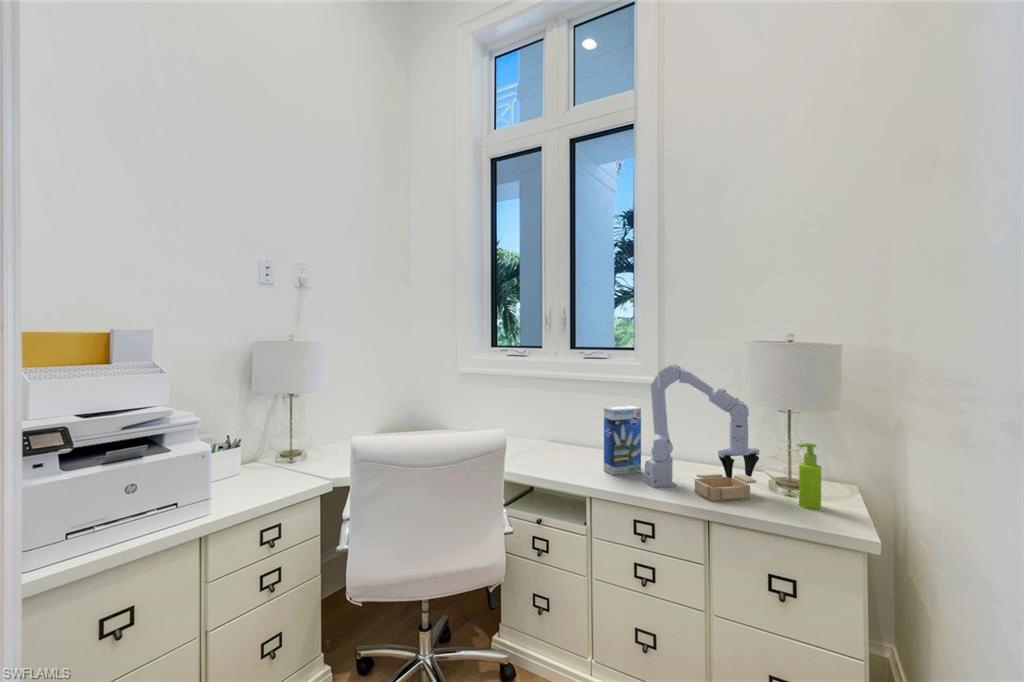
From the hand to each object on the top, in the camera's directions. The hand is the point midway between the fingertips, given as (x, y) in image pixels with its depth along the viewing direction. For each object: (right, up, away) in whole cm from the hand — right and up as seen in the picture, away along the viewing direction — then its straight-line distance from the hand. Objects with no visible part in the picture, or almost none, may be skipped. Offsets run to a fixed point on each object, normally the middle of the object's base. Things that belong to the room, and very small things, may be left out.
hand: (738, 476), depth 158 cm
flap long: (-7, -1, +3) cm, 8 cm away
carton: (-6, -6, -1) cm, 9 cm away
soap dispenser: (+17, -6, -11) cm, 21 cm away
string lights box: (-34, -6, +27) cm, 43 cm away
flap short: (0, -1, 0) cm, 1 cm away
